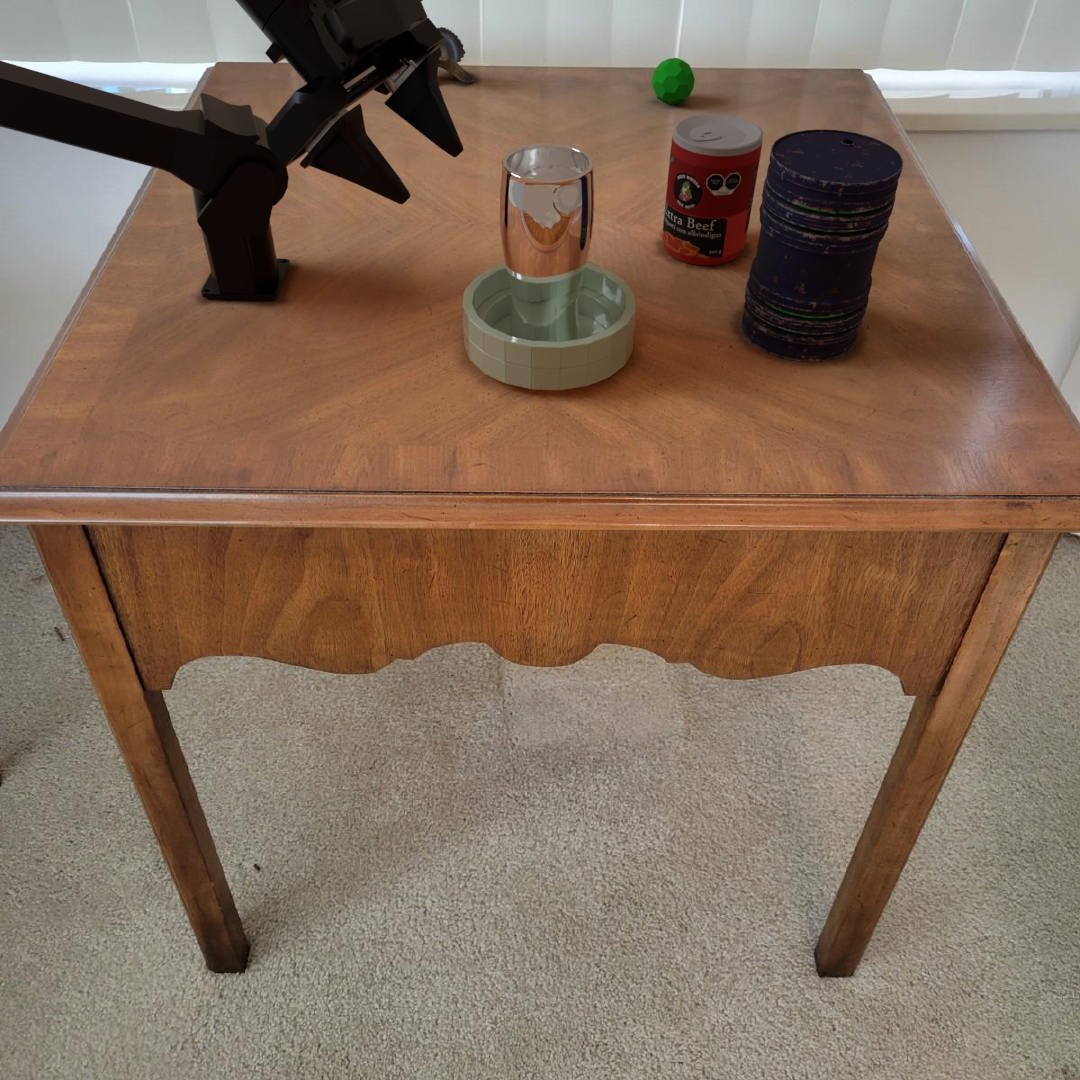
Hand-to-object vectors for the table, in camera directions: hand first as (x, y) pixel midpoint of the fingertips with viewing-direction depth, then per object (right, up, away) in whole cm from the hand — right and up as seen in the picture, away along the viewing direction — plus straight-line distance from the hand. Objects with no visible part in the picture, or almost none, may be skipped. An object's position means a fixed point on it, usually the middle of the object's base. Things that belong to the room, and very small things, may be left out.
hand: (434, 176), depth 80 cm
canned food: (+24, -1, +16) cm, 29 cm away
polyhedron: (+24, +24, +42) cm, 54 cm away
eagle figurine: (-5, +28, +46) cm, 54 cm away
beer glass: (+9, -13, +3) cm, 16 cm away
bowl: (+9, -13, +3) cm, 16 cm away
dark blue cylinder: (+30, -11, +6) cm, 33 cm away
